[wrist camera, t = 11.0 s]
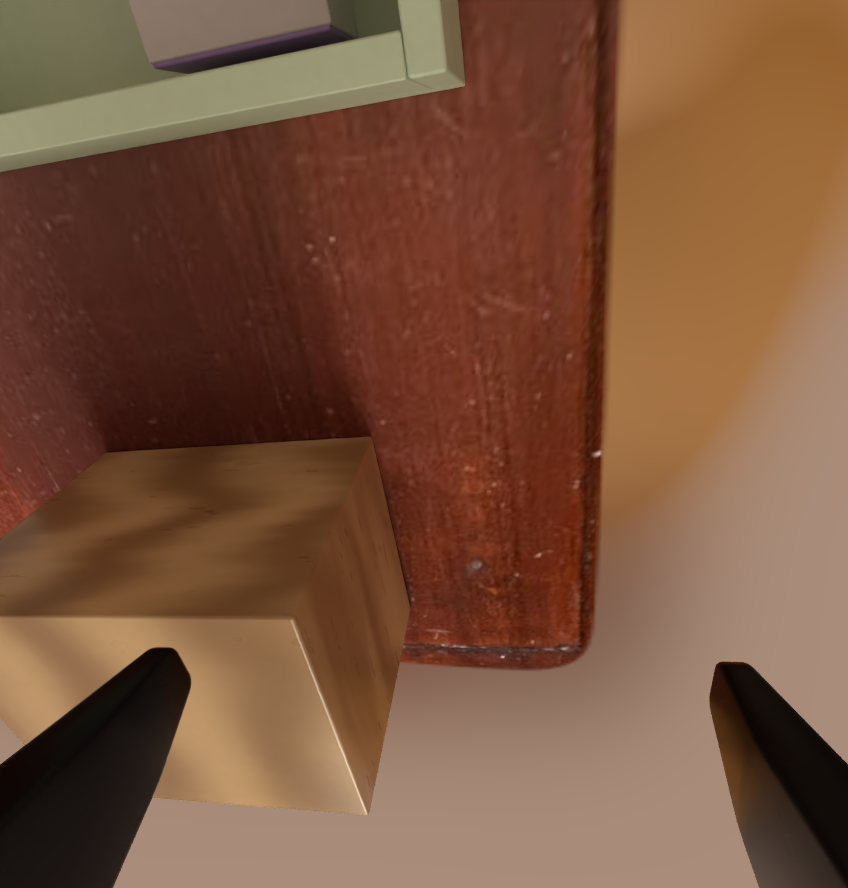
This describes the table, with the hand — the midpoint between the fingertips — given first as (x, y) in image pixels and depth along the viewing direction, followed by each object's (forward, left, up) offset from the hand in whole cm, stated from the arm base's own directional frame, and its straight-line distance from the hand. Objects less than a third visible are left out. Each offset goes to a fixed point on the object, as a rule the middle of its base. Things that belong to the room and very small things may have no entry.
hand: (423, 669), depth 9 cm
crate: (+10, +7, -12) cm, 17 cm away
